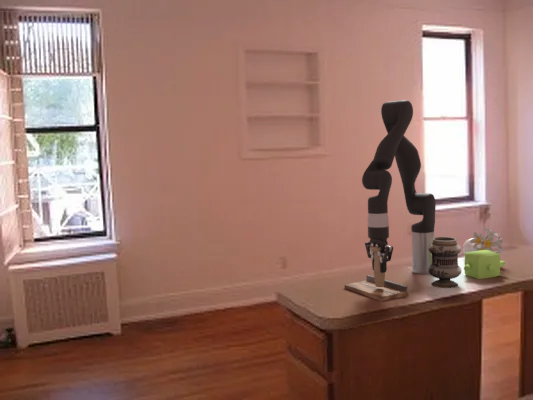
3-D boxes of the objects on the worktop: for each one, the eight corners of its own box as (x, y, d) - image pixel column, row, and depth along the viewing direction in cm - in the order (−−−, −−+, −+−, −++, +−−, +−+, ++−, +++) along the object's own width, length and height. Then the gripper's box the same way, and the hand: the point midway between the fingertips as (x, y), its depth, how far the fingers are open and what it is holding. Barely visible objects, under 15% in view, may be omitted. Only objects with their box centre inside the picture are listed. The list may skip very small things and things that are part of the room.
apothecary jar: (442, 290, 206) (441, 242, 204) (421, 283, 217) (421, 237, 215) (468, 286, 210) (468, 238, 209) (447, 279, 221) (446, 234, 220)
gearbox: (471, 282, 217) (471, 259, 216) (455, 276, 227) (455, 253, 225) (509, 276, 222) (509, 253, 221) (492, 270, 232) (492, 248, 230)
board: (369, 283, 221) (369, 274, 220) (408, 295, 201) (407, 286, 201) (344, 288, 215) (344, 279, 215) (381, 301, 196) (381, 291, 196)
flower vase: (464, 272, 260) (483, 270, 235) (453, 234, 263) (471, 228, 238) (491, 266, 260) (513, 263, 235) (479, 227, 263) (500, 221, 238)
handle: (390, 286, 205) (389, 246, 204) (375, 289, 203) (374, 248, 201) (383, 283, 210) (382, 244, 208) (368, 286, 207) (367, 246, 206)
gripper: (399, 226, 200) (400, 273, 201) (374, 222, 212) (375, 266, 214) (382, 228, 196) (383, 276, 198) (358, 224, 209) (359, 269, 210)
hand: (379, 271), depth 206 cm, fingers closed on handle, 4 cm apart
